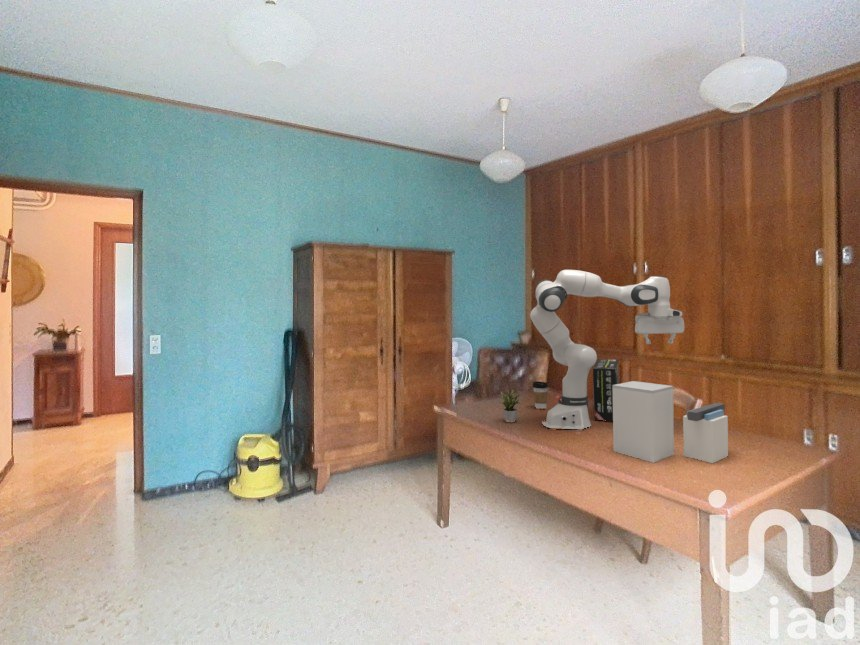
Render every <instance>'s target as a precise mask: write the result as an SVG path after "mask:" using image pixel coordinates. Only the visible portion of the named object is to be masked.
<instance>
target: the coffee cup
mask: <svg viewBox="0 0 860 645" xmlns="http://www.w3.org/2000/svg"><path fill="white" fill-rule="evenodd" d="M548 383H549V382H546V381H536V380H535V381H533V382H532V388H533V401H534V408H535V407H536V408H546V409H547V404H548V403H547V402H548V388H549V384H548Z"/></svg>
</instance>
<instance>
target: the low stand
mask: <svg viewBox="0 0 860 645" xmlns="http://www.w3.org/2000/svg"><path fill="white" fill-rule="evenodd" d="M697 408H698V407H697ZM697 408H693V409H691V410H694V409H697ZM691 410H687V411H686V414H685V415H683V416H682V424H683V425H682V426H683V428H682V431H683V432H682V434H683V437H682V438H683V439H682V440H683V457H685V458H690V459H693V458H694V460H697V459H698V460H697V461H701V460H702V462H706V463H710V464H714V463H716V462H719V461H721V460H723V459H726V458H727V456H728V457H729V420H728V419H729V418H728V417H729V416H728V415H725V412H724V410H721V409H720V410H717V411H714V412H711V413H708V414H705V419H702V420H699V421H692V420H688V411H691Z"/></svg>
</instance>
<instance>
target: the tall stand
mask: <svg viewBox="0 0 860 645" xmlns="http://www.w3.org/2000/svg"><path fill="white" fill-rule="evenodd" d="M612 387H613V422H612V424H613V425H612V431H613V432H612V434H613V437H612V438H613V445H612V446H613V453H616V452H618V454H620V453H621V455H624V454H625V456H627V455H628V457H631V456H632V457H631V458H635V459H638V458H639V459H638V460H642V461H646V462H650V463H657V462H659V461H662V460H664V459H667V458H669V457H671V456H674V455H675V443H674V442H675V436H674V435H675V430H674V428H675V427H674V424H675V423H674V385H667V384H660V383H659V384H658V383H652V382H643V381H638V380H637V381H635V380H632V381H631V380H630V381H626V382H622V383H619V384H616V385H612Z"/></svg>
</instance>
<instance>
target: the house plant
mask: <svg viewBox="0 0 860 645" xmlns="http://www.w3.org/2000/svg"><path fill="white" fill-rule="evenodd" d="M500 394H501V395H500ZM500 394H499V397H501V399H503V401H499V402H498V404H502V405H503V406H504V407H505V408H503V409H502V412H503V416H504V421H505V420H509V421H514V420H516V421H517V416H518V409H517V407H516V406H515V405H518V404H520V405H522V402H520V399H518V400H517V398H520V396H521V395H523V394H524V392H523V391H522V392H520V393H518V394H517V395H515V396H514V389H512V390H511V393H510V392H509V390H507V394H506V395H505V393H503V392H502V391H500ZM507 395H508V396H507Z"/></svg>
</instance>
